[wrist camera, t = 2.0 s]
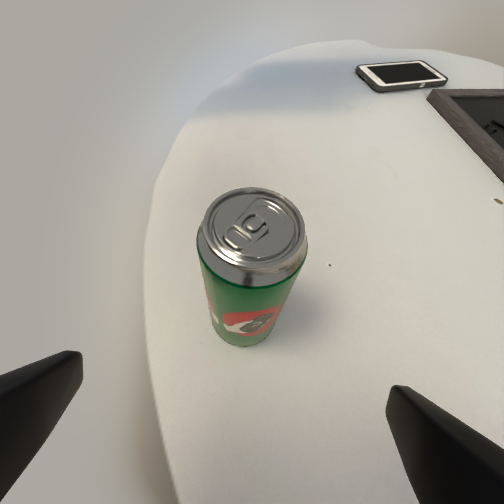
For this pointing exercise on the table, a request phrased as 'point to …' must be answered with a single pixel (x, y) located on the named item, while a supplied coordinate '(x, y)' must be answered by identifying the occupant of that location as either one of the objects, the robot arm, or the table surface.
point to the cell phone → (400, 75)
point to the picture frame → (476, 120)
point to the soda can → (249, 261)
